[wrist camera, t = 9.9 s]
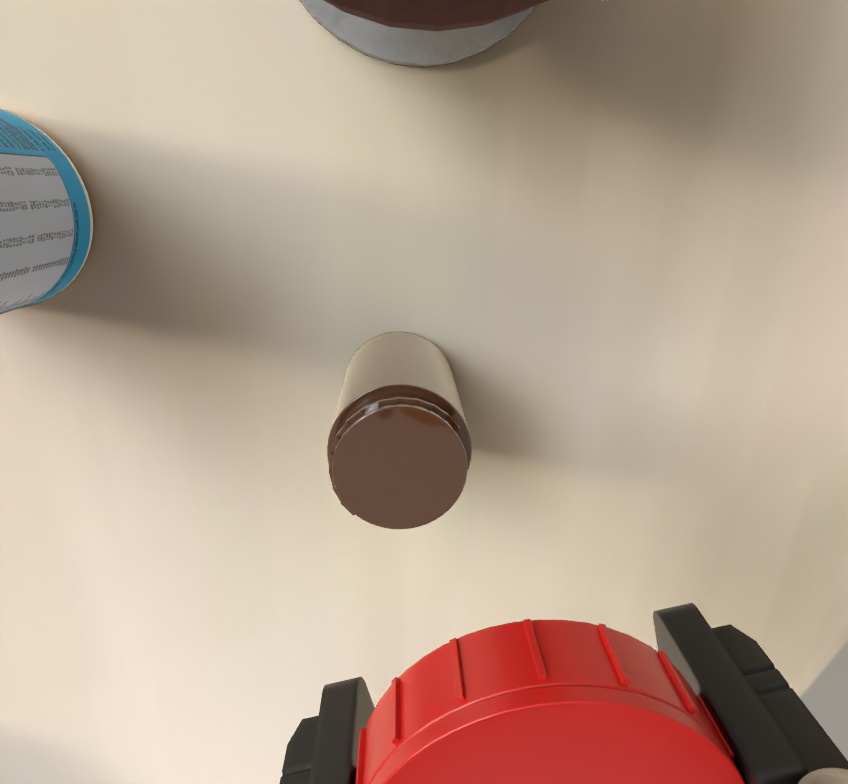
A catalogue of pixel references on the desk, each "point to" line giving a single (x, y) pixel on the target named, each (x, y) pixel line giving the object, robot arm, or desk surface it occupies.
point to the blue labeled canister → (38, 216)
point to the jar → (398, 434)
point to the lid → (543, 714)
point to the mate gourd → (420, 26)
